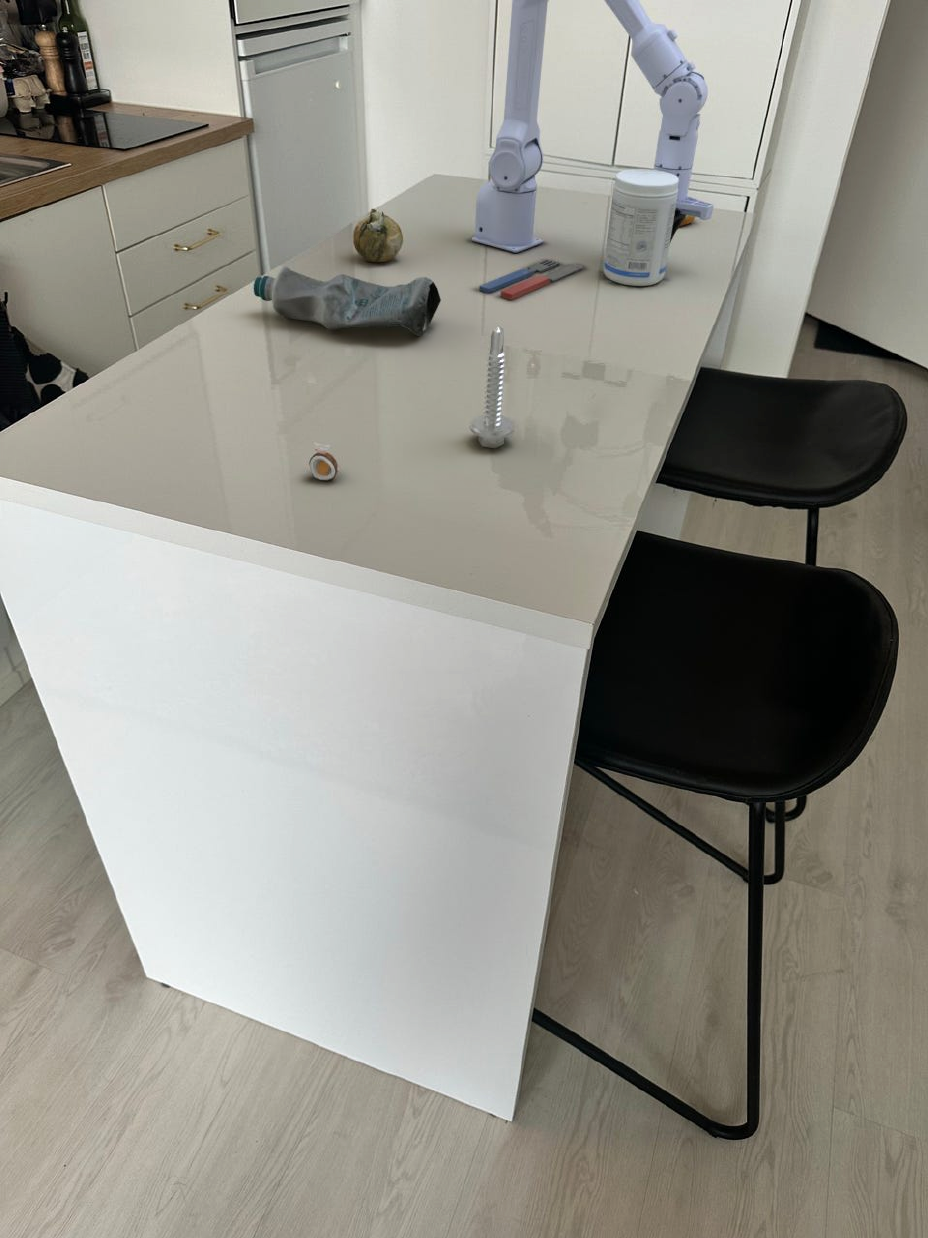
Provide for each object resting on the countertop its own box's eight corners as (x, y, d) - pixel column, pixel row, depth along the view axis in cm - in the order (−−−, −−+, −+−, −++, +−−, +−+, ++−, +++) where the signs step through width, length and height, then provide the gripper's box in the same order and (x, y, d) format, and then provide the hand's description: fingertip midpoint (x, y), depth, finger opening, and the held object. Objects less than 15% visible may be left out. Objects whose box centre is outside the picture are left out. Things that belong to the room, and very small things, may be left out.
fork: (490, 294, 136) (491, 289, 136) (477, 289, 137) (477, 285, 137) (559, 265, 148) (560, 260, 147) (546, 261, 149) (547, 256, 148)
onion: (412, 262, 146) (413, 209, 141) (368, 270, 142) (367, 215, 137) (388, 249, 151) (387, 197, 146) (345, 256, 147) (343, 203, 142)
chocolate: (345, 474, 93) (343, 439, 91) (335, 485, 92) (333, 449, 89) (318, 468, 94) (316, 433, 92) (308, 478, 93) (305, 443, 90)
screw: (504, 430, 102) (519, 450, 99) (463, 434, 101) (476, 455, 98) (513, 314, 94) (529, 332, 91) (468, 318, 93) (482, 336, 89)
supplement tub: (633, 263, 149) (647, 165, 140) (676, 280, 144) (694, 179, 134) (589, 274, 145) (601, 172, 136) (632, 292, 139) (648, 187, 130)
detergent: (447, 316, 128) (278, 290, 132) (449, 265, 123) (273, 240, 127) (422, 359, 119) (241, 331, 122) (422, 306, 114) (233, 278, 118)
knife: (511, 300, 134) (512, 294, 134) (500, 296, 135) (500, 290, 135) (585, 268, 147) (585, 262, 146) (574, 265, 148) (574, 259, 147)
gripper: (728, 169, 139) (710, 261, 147) (644, 152, 145) (631, 242, 154) (707, 177, 134) (690, 272, 143) (621, 160, 141) (609, 251, 149)
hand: (658, 257), depth 148 cm, fingers closed, pressing on supplement tub
